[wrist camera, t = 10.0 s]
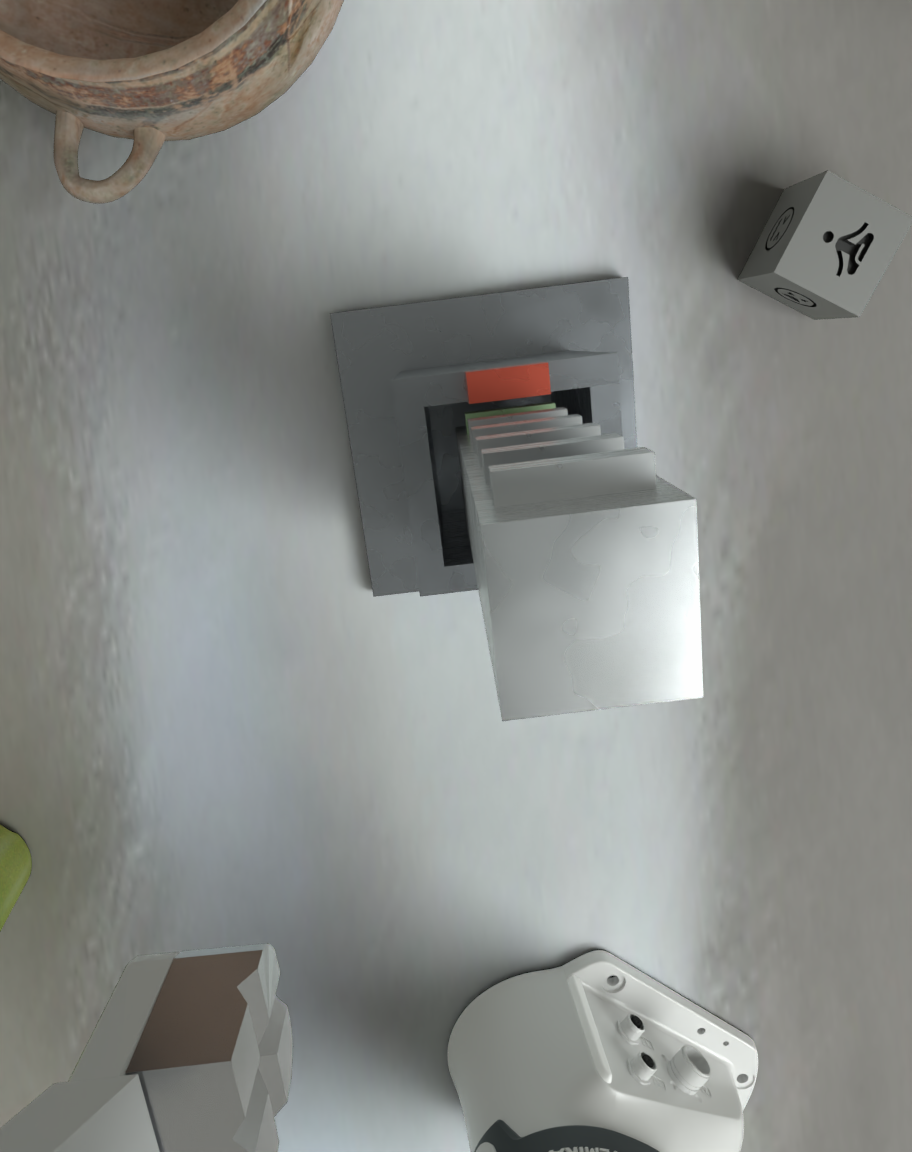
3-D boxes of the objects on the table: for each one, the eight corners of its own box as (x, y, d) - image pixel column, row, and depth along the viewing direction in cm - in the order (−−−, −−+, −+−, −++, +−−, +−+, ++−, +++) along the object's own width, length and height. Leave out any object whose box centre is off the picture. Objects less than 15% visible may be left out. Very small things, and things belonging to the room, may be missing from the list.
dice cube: (814, 319, 45) (859, 317, 40) (737, 279, 44) (773, 272, 39) (862, 231, 44) (915, 218, 39) (783, 189, 43) (827, 170, 38)
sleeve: (623, 278, 44) (710, 248, 30) (639, 559, 48) (721, 646, 35) (332, 313, 44) (286, 300, 30) (374, 591, 49) (351, 690, 35)
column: (552, 396, 35) (694, 459, 16) (562, 512, 37) (703, 697, 18) (453, 408, 35) (475, 486, 16) (466, 524, 37) (502, 720, 18)
